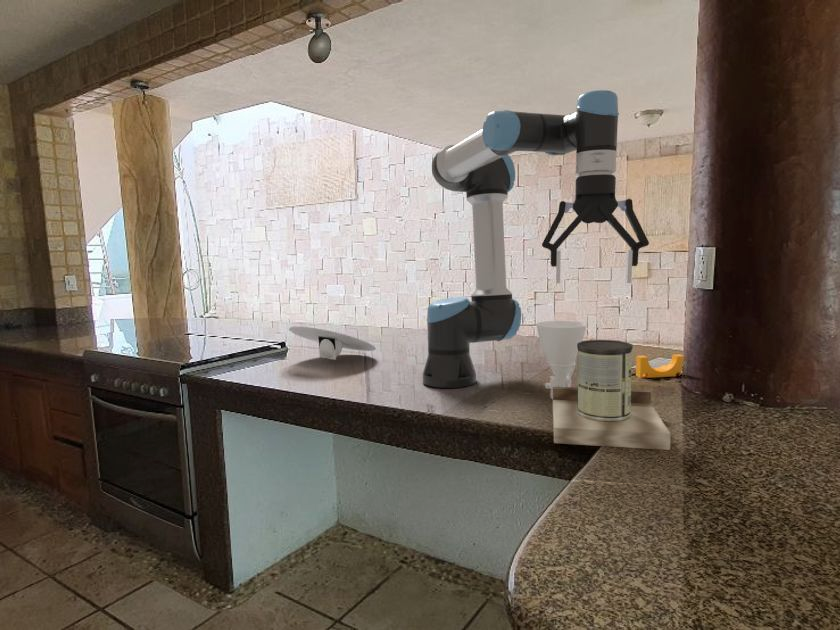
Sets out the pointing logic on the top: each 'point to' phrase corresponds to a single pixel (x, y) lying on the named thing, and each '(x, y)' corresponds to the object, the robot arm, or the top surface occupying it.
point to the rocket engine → (560, 349)
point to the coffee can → (604, 380)
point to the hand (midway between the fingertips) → (592, 283)
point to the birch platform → (608, 423)
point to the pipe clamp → (663, 371)
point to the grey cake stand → (331, 341)
